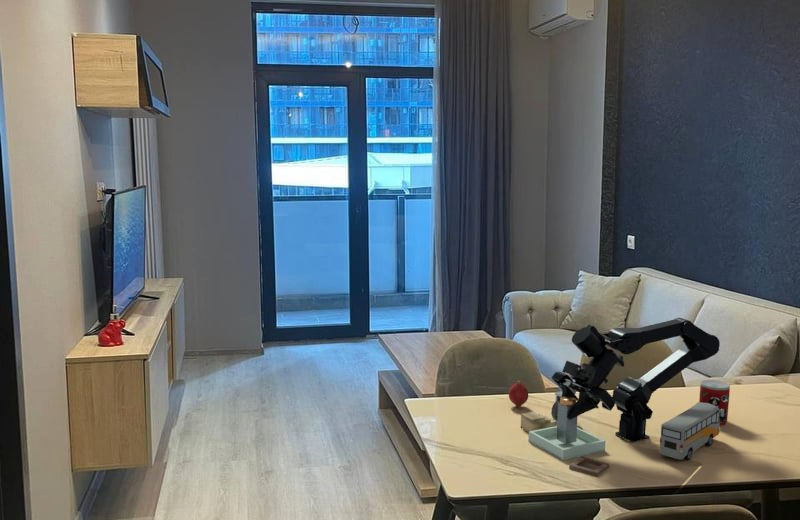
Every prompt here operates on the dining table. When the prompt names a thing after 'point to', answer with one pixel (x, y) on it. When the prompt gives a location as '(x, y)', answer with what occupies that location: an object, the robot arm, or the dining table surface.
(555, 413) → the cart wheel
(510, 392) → the onion
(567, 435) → the pin
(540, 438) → the tray
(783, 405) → the dining table surface
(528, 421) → the block
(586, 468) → the pin socket
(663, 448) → the toy bus
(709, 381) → the canned food
